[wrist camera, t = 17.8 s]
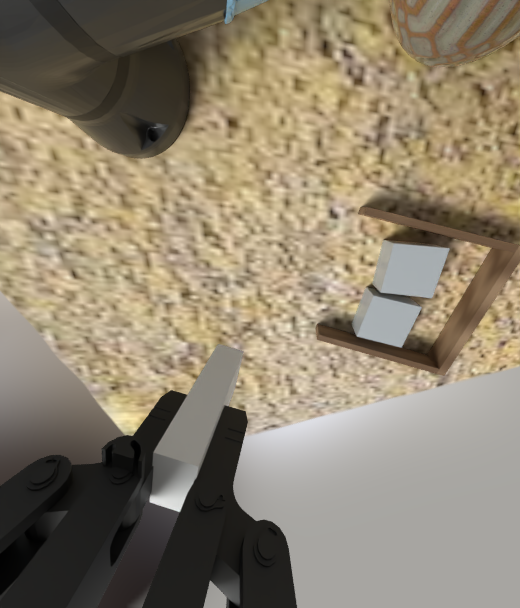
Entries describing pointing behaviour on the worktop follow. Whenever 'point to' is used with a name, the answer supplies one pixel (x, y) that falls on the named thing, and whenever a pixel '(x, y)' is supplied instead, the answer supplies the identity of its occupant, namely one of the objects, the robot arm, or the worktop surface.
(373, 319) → the tile
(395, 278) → the light grey square block
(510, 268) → the frame
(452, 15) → the vase
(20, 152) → the worktop surface
